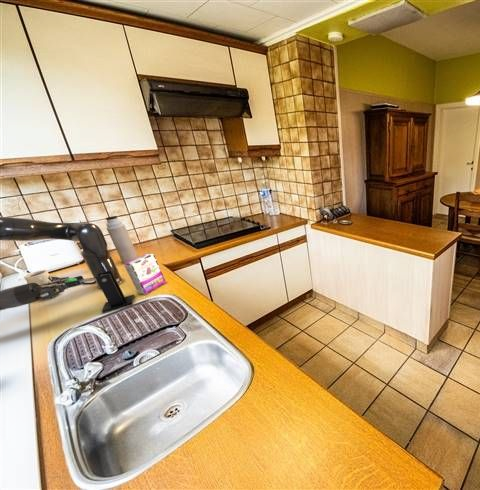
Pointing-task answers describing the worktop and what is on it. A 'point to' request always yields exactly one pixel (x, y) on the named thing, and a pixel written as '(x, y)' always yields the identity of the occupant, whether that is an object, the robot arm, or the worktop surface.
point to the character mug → (39, 279)
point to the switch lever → (82, 279)
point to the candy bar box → (145, 273)
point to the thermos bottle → (121, 239)
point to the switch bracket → (112, 292)
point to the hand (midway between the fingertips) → (81, 280)
